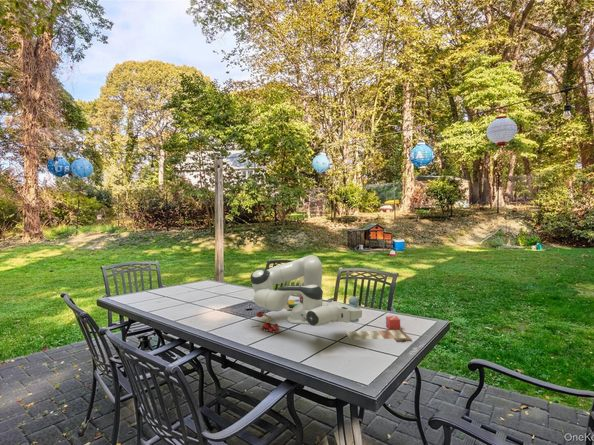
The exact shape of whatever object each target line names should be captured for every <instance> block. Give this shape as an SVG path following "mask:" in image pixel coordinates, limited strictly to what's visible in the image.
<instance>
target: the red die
mask: <svg viewBox="0 0 594 445" xmlns="http://www.w3.org/2000/svg"><path fill="white" fill-rule="evenodd" d="M385 327H386V328H387V330H400V329H401V319H400V318H399V316H396V315H395V316H394V315H392V316H391V315H389V316H385Z"/></svg>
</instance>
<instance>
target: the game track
mask: <svg viewBox="0 0 594 445" xmlns="http://www.w3.org/2000/svg"><path fill="white" fill-rule="evenodd" d="M345 333H346V335H347V338H348V339H349V341H352V340H356V341H357V340H386V339H387V340H388V339H390V340H391V339H392V340H394V341H395V342H396V343H407V342H406V341H413V340H412V338H411V337H410V336H409V335H408V334H407V333H406V332H405V331H404V330H403V329H401V328H400V330H389V329H386V330H367V331H366V330H361V331H359V330H357V331H354V330H353V331H345Z"/></svg>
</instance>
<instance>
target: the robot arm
mask: <svg viewBox="0 0 594 445" xmlns="http://www.w3.org/2000/svg"><path fill="white" fill-rule="evenodd" d="M301 277H303V284H302V285H283V286H280V287H278V288H277V290H276V289H275V290H274V287H273V286H274V285H280V284H283V283H287V282H291V281H295V280H297V279H299V278H301ZM322 282H323V264H322V262H321V260H320V258H319V257H318V256H316V255H314V254H310V255H306V256H303V257H301V258H298V259H295V260H292V261H289V262H284V263H282V264H278V265H275V266H273V267H270V268H269V269H263V268H262V269H261V268H260V269H257V270H254V271H253V272H252V273H251V275H250V283H251V285H252V289H253V292H254V295H253V302H254V304H255V305H256V306H257V307H260V308H262V309H265V310H267V311H269V312H270V311H271V312H275V313H276V312H281V311H282V310H283V309H284V308H285V306H286V304H287V302H288V300H290V298H291V295H299V296H298V299H300V303H299V304H297V305H296V306H295V307H293V309H292V310H291V313H290V314H289V315H287V321H288V322H289V323H290V324H298V325H299V324H301V325H303V324H305V325H310V326H313V327H319V326H324V325H325V326H326V325H328V324H330V323H335V322H337V323H338V322H340V323H351V322H350V320H356V319H359V320H360V319H361V318H362V317H363V310H362V309H361V308H360V306H358V307H355V308H354V307H351V306H349V303H342V302H339V301H335V300H334V301H331V302H327V304H326V305H323V295H324V294H323V293H324V291H323V288H322Z"/></svg>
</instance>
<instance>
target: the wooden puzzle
mask: <svg viewBox="0 0 594 445" xmlns="http://www.w3.org/2000/svg"><path fill="white" fill-rule="evenodd" d="M299 303H300V299H299V298H298V299H288V302H287V304H286V306H285V307H284V308H285V309H286V311H289V312H290V311H292V309H293V307H295V306H296V305H297V304H299Z"/></svg>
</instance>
